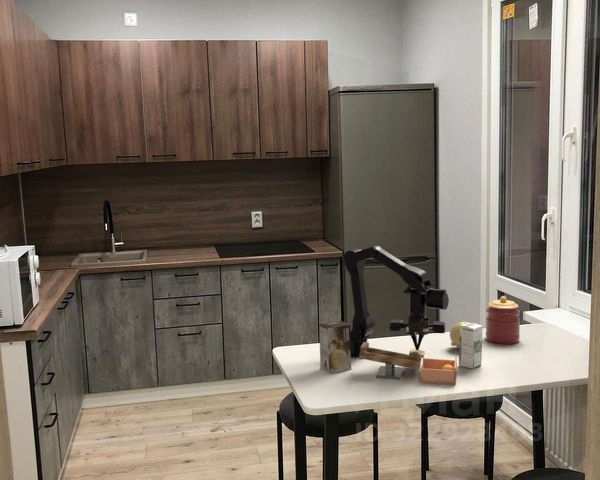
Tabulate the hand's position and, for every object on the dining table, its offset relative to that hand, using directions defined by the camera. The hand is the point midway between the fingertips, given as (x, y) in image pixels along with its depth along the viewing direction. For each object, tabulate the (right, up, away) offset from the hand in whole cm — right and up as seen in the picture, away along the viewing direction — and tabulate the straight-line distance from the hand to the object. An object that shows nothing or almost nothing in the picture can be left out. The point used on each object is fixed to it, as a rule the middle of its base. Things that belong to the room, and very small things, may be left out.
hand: (417, 350), depth 224 cm
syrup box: (+18, -6, 0) cm, 19 cm away
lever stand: (-11, -7, -8) cm, 15 cm away
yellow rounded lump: (+22, -3, +19) cm, 29 cm away
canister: (+39, -1, +30) cm, 49 cm away
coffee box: (-29, -7, -2) cm, 29 cm away
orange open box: (+5, -7, -12) cm, 15 cm away
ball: (+8, -5, -13) cm, 16 cm away
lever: (-9, -2, -3) cm, 10 cm away
